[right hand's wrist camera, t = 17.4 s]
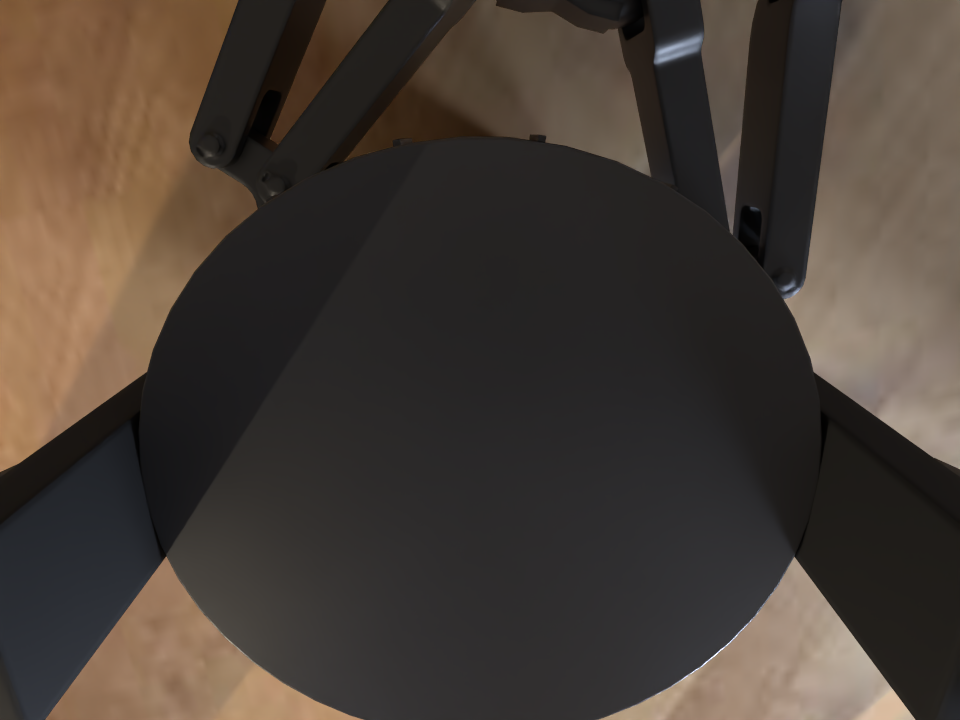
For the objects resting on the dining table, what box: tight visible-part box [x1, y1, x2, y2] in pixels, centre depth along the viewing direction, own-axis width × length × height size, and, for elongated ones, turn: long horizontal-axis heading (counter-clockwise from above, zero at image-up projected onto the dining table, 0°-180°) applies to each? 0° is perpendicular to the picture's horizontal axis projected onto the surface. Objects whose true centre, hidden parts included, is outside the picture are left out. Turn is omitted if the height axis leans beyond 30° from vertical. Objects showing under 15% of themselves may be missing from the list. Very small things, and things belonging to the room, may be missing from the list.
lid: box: [138, 135, 822, 720], centre depth 11 cm, size 11×11×2 cm
